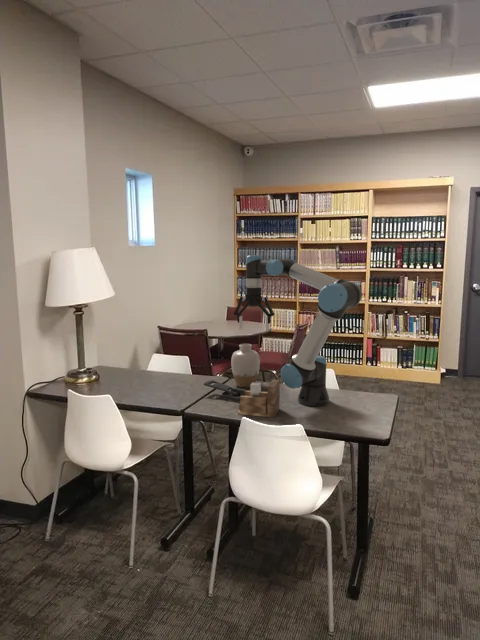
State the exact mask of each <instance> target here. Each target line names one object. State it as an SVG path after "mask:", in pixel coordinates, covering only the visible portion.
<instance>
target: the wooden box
mask: <svg viewBox="0 0 480 640" xmlns="http://www.w3.org/2000/svg"><path fill="white" fill-rule="evenodd" d="M280 385H281V384H280V379H272V380H271V382H270V383H268V385H267V391H261V397H254V396H250V390H247V389H245V390H246V391H245V396H240V402H239V404H238V410H237V415H241V416H242V415H245V416H255V417H256V416H257V417H264V418H265V417H266V418H268V417H269V418H275V417H276V416H277V413H278V412H279V410H280V394H281V393H280V387H281V386H280Z"/></svg>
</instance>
